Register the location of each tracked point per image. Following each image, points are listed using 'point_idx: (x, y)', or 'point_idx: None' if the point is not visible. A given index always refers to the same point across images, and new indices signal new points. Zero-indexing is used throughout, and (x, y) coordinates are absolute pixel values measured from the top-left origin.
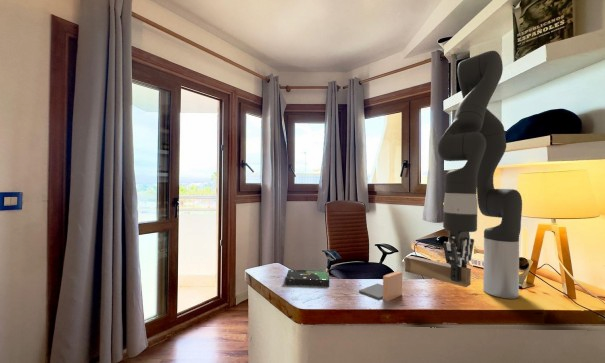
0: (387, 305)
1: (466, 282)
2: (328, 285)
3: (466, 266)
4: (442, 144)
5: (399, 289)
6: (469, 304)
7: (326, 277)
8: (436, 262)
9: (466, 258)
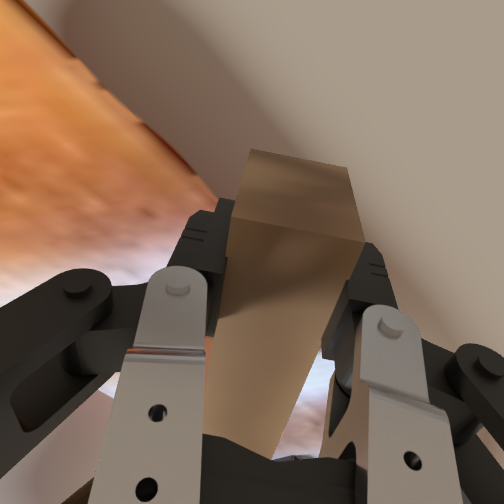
0: None
1: (336, 181)
2: (294, 459)
3: (204, 259)
4: None
5: (207, 352)
6: (55, 118)
7: None
8: (237, 414)
9: (202, 329)
